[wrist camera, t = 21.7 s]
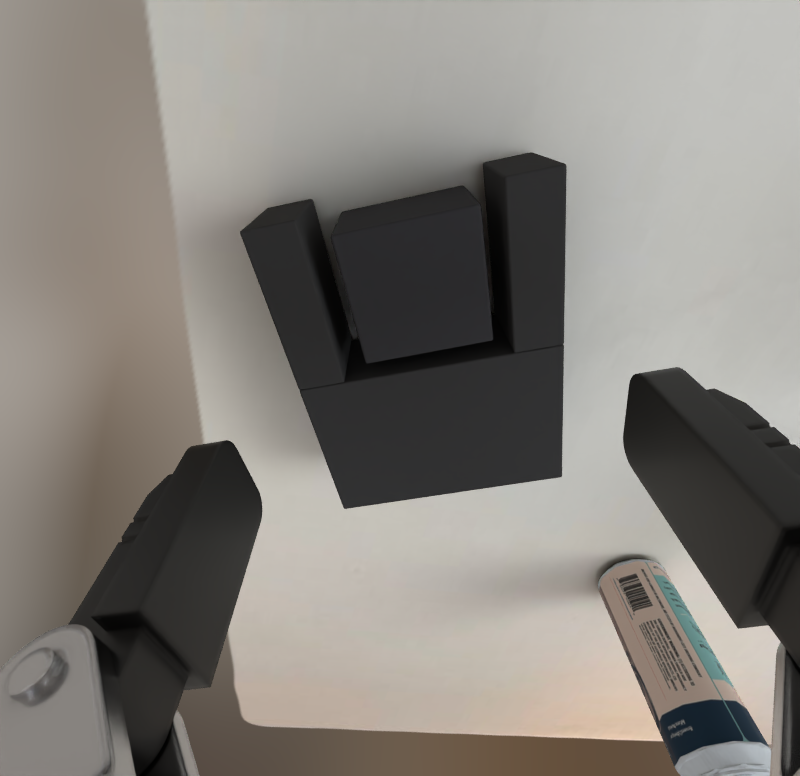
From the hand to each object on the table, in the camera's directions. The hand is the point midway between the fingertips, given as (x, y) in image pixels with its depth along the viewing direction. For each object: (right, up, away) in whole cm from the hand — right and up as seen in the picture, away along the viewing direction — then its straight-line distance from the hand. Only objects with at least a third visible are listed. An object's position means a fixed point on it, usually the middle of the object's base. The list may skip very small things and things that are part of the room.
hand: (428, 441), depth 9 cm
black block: (0, +7, +11) cm, 13 cm away
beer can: (+16, -13, +24) cm, 31 cm away
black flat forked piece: (+1, +4, +13) cm, 13 cm away
